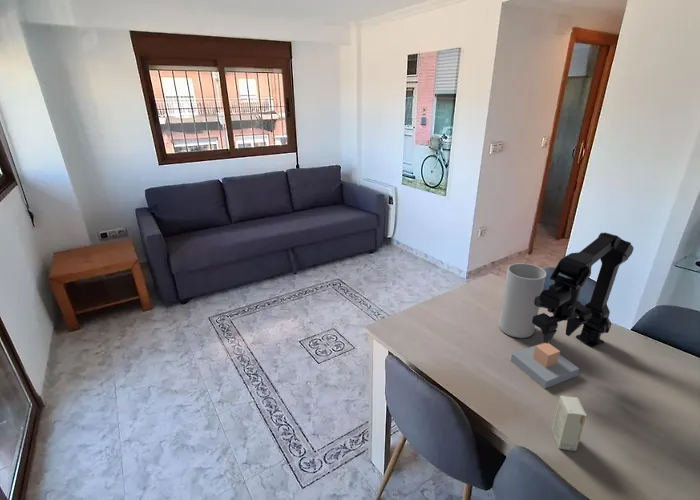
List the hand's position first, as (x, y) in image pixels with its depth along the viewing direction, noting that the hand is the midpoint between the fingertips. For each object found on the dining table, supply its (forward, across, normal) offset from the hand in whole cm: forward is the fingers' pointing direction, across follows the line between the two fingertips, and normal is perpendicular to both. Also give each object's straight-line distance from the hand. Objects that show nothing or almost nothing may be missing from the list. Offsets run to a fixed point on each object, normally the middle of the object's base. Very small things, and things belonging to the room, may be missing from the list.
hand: (556, 338), depth 116 cm
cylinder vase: (+12, -6, -21) cm, 25 cm away
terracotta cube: (+9, +2, -1) cm, 9 cm away
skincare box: (+12, +19, +21) cm, 31 cm away
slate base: (+12, +2, -1) cm, 12 cm away
